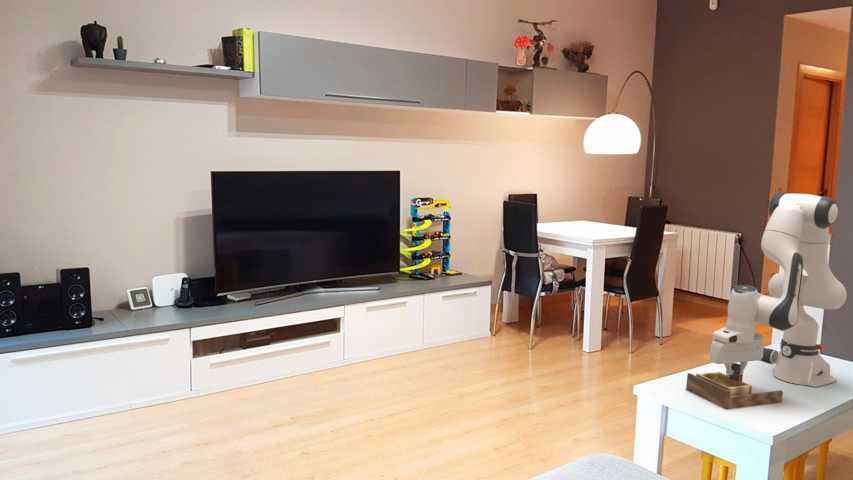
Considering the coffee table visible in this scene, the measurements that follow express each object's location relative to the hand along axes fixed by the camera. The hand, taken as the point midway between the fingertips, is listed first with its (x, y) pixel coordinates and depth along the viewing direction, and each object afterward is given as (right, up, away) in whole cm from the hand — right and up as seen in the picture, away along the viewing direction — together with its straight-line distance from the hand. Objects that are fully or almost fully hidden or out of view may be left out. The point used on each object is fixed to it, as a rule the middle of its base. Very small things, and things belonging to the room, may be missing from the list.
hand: (734, 374), depth 235 cm
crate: (-5, -8, -1) cm, 9 cm away
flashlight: (+31, -4, +51) cm, 60 cm away
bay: (0, -9, +1) cm, 9 cm away
